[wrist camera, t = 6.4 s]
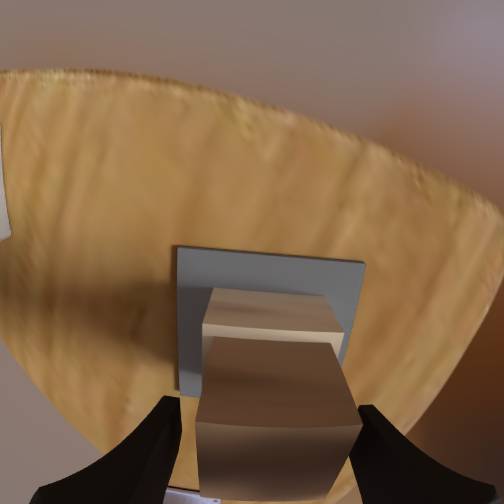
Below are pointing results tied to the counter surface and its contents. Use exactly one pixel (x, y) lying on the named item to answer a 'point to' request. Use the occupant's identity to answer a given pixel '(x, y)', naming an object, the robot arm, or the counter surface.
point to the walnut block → (273, 421)
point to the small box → (3, 205)
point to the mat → (254, 279)
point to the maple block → (269, 319)
